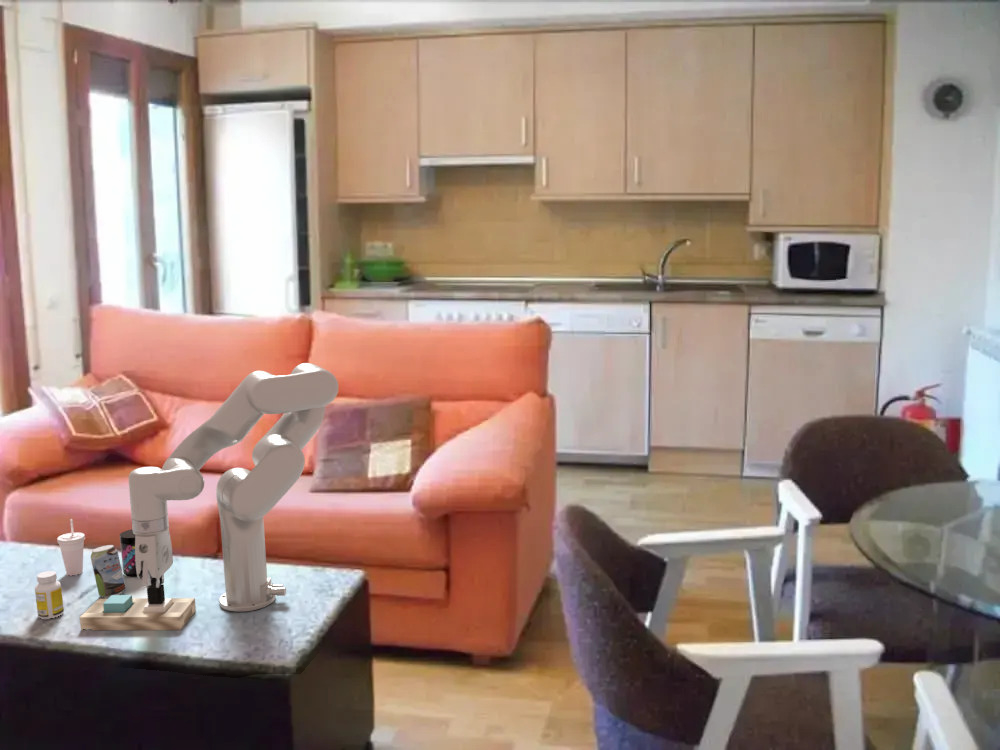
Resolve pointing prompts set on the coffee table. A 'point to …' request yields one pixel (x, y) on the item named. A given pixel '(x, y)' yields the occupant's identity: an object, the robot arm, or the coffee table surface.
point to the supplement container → (128, 553)
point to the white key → (158, 607)
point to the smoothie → (72, 551)
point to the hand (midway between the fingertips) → (156, 602)
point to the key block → (139, 616)
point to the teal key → (118, 604)
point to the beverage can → (107, 571)
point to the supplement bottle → (48, 595)
